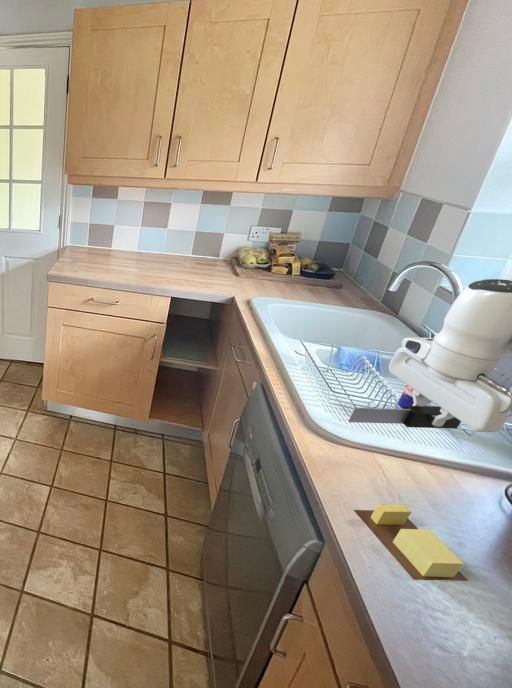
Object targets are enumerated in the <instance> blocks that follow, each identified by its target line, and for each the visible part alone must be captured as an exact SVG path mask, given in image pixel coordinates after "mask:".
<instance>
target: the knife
mask: <svg viewBox="0 0 512 688" xmlns="http://www.w3.org/2000/svg"><path fill="white" fill-rule="evenodd" d="M440 410H441V407H440V406H432V405H431V406H430V405H429V406H405V407H404V409H397V408H387V407H386V408H384V407H354V409H353V411H352V413H351V415H350V417H349V419H348V422H349V423H357V424H359V423H360V424H361V423H362V424H394V425H395V424H397V425H399V424H401V425H404V426H405V427H407V428H420V429H423V428H424V429H454V430H455V429H458V428H459V426H460V424H461V423H462V422H461V421H460V420H458V419H457V418H456V417H454V418H451V419H449V420H446V421H445V423H444V425H443V426H440V427H439V426H434V425H432V424H431V423H430V422H429V421H428V419H429V417H430V416H431V415H440V414H442V413H441V412H440Z"/></svg>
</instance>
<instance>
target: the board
mask: <svg viewBox="0 0 512 688" xmlns="http://www.w3.org/2000/svg"><path fill="white" fill-rule="evenodd" d="M374 510H375V509H374ZM374 510H373V509H353V512H354V513H355V515H357V516H358V517H359V519H360V520H361V521H362V523H364V524H365V525H366V526H367V527H368V529H369V530H370V531H371V532H372V533H373V535H374V536H375V537H376V538H377V539H378V540H379V542H380V543H381V544H382V545H383V546H384V547H385V549H386V550H387V551H388V552H389V553H390V554H391V555H392V556H393V558H394V559H395V560H396V561H397V562H398V564H399V565H400V566H401V567H402V568H403V569H404V571H405V572H406V573H407V574H408V575H409V576H410V578H411V579H412V580H418V581H453V582H454V581H456V582H458V581H460V582H461V581H462V582H469V581H470V580H469V579H468V578H467V577H466V576H465V575H464V574H463V573H462V572H461V570H459V571H458V572H457V574H456V575H455V576H454V577H426V576H422V575H421V573H420V572H419V571H418V570H417V569H416V568H415V567H414V566H413V564H412V563H411V562H410V561H409V560H408V559H407V558H406V557H405V555H404V554H403V553H402V552H401V551H400V550H399V549H398V548H397V546H396V545H395V544H394V543H393V541H394V539H395V537H396V536H397V534H398V533H399V531H400V529H419V527H417V526H416V525H415V524H414V523H413V522H412V521H411V520H410V519H409V517H408V518H407V520H406V521H405V523H404V525H381V524H376V523H375V522H374V521H373V520H372V519H371V515H372V514H373V512H374Z"/></svg>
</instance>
